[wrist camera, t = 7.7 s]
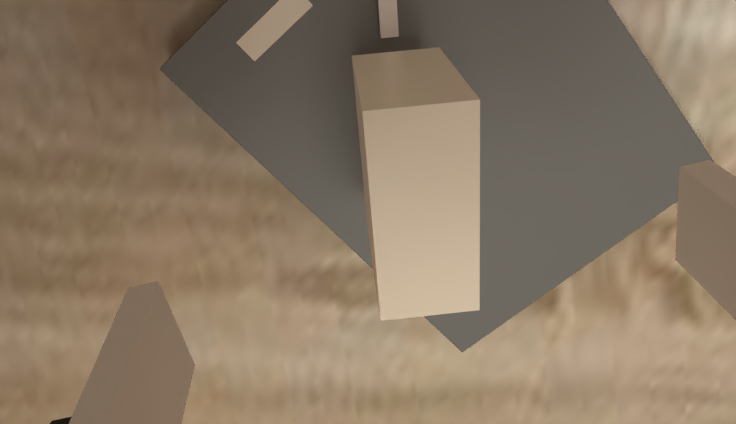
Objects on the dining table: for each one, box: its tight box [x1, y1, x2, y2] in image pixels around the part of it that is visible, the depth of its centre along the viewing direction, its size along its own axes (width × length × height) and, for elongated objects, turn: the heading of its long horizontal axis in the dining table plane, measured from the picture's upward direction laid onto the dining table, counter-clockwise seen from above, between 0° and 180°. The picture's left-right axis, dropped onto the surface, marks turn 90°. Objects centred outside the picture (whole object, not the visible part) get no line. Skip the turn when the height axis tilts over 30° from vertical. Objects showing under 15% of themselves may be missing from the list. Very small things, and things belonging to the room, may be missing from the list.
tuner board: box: [160, 0, 714, 352], centre depth 27 cm, size 20×15×2 cm
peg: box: [352, 0, 480, 321], centre depth 21 cm, size 3×12×9 cm, turn 5°
